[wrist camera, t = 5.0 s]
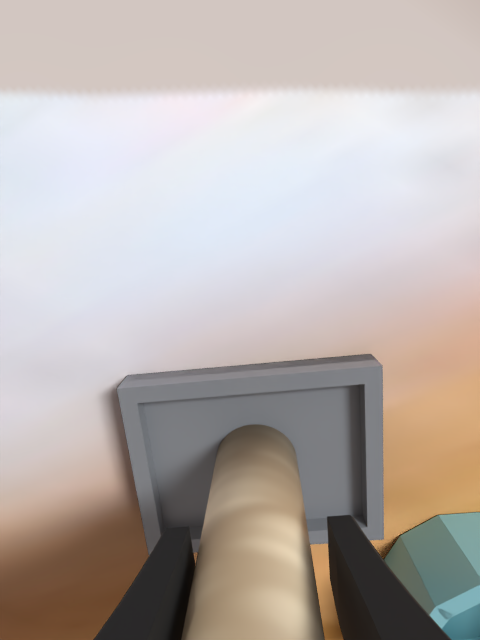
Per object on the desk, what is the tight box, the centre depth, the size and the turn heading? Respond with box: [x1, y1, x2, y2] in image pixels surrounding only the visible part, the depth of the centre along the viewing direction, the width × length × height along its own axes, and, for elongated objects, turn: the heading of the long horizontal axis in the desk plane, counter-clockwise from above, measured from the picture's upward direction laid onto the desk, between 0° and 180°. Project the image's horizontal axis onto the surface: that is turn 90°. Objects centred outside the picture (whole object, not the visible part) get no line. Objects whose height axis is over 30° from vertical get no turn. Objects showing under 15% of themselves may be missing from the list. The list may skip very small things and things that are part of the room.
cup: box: [384, 512, 480, 640], centre depth 15 cm, size 7×7×3 cm
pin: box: [181, 424, 325, 640], centre depth 10 cm, size 3×3×8 cm
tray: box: [117, 354, 384, 556], centre depth 14 cm, size 9×7×1 cm
